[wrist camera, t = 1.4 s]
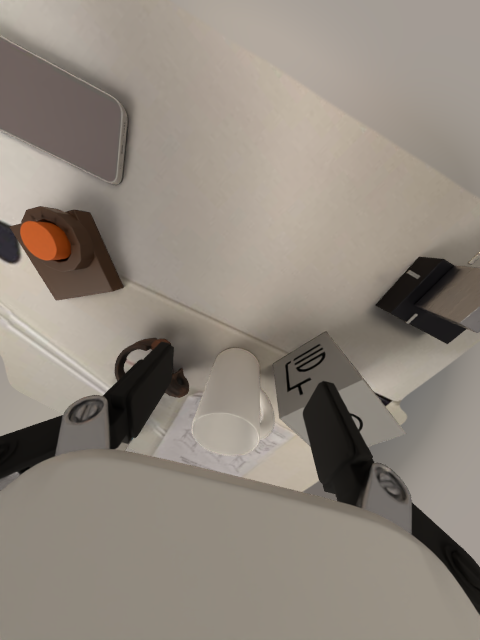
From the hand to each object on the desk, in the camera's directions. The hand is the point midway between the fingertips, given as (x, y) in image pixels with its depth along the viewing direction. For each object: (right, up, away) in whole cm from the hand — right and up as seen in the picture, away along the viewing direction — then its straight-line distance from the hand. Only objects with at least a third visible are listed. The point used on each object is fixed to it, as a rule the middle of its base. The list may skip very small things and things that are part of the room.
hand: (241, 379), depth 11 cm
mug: (+1, -6, +20) cm, 21 cm away
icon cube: (+13, -4, +18) cm, 22 cm away
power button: (-22, +13, +10) cm, 28 cm away
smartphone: (-20, +26, +8) cm, 33 cm away
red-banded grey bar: (+22, +7, +8) cm, 25 cm away
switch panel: (+24, +8, +11) cm, 27 cm away
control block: (-24, +13, +14) cm, 30 cm away
